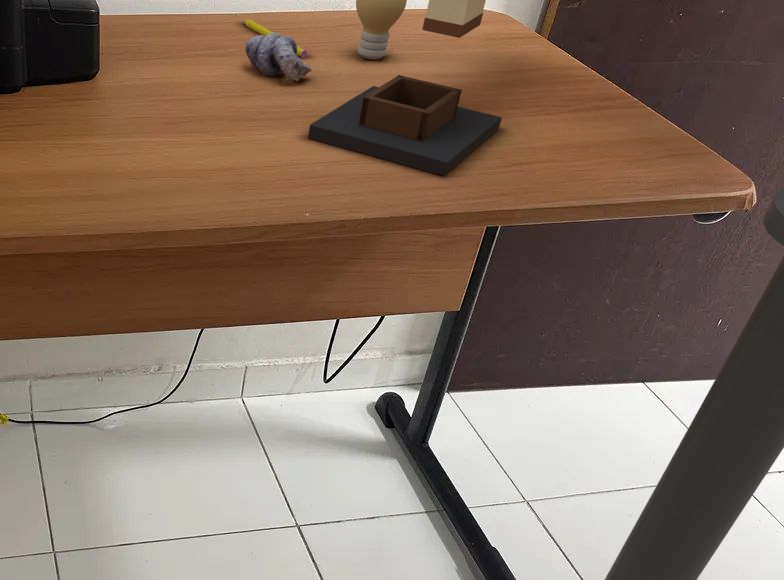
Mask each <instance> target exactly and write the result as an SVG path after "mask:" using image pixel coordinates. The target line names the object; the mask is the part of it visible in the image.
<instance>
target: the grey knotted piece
mask: <svg viewBox="0 0 784 580" xmlns="http://www.w3.org/2000/svg"><path fill="white" fill-rule="evenodd" d="M272 32H273V33H270V34H267V35H266V36H263V35H261V34H259V35H255V36H253V37H251V38H250V39H248V40H247V41H246V42H245V53H246V56H247V58H248V60H249V62H250V64H251V66H253V68H254V69H256V70H259V71H260V72H261V73H262V75H263V76H267V77H271V76H272V77H274V76H277V75H280V74H282V73H284V75H285V76H286V77H287V78H288V79H290V80H291V79H292V80H293V81H295V82H299V80H300V78H301V77H305V76H306V75H308V74H309V73H310V72H312V71H313V69H312V67H311V65H310V64H305V63H304V62H303V60H302V59H301V57H300V56H298V55H296V53H297V46H298V45H297V43H296V41H295V39H293V38H292V37H291V36H289V35H283V36H282V34H281V33H279V32H274V31H272Z"/></svg>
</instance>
